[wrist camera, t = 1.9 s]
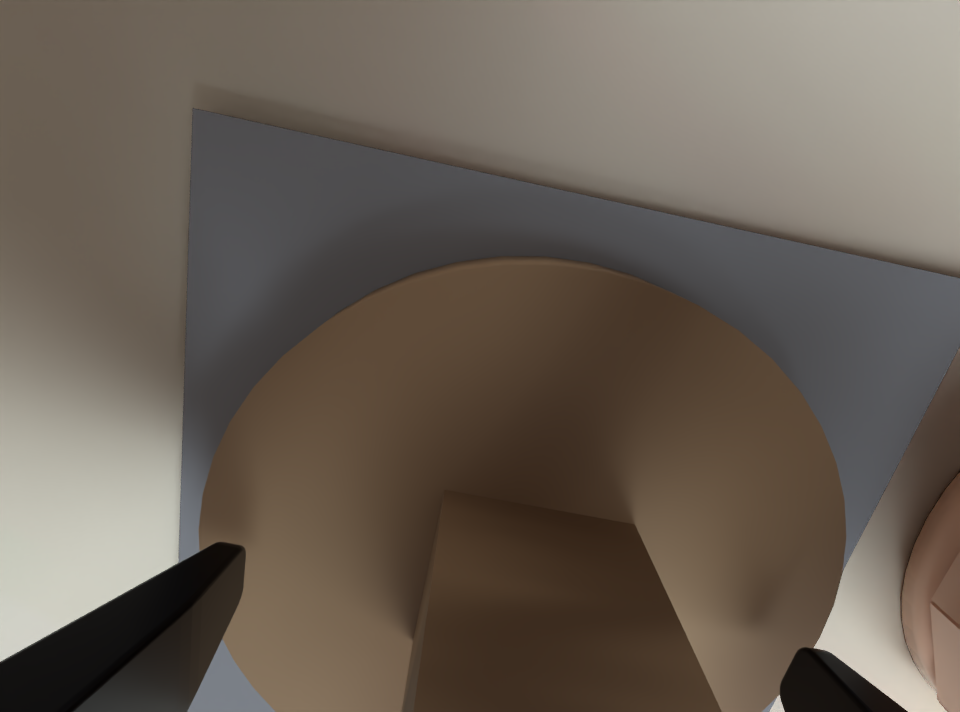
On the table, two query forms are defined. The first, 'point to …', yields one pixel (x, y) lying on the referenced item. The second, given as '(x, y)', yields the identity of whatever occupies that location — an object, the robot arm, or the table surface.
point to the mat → (521, 232)
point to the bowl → (936, 599)
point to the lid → (525, 503)
